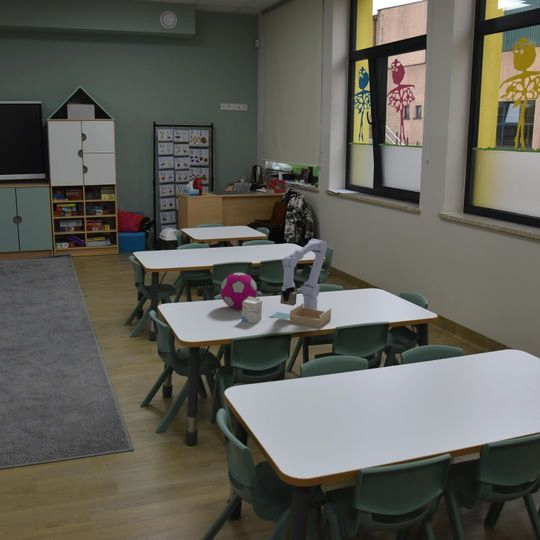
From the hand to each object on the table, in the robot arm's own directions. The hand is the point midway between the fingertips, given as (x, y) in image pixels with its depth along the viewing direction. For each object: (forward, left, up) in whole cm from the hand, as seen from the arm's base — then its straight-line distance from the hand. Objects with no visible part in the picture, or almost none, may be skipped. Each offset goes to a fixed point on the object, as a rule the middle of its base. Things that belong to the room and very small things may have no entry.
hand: (287, 300), depth 394 cm
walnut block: (0, 0, -2) cm, 2 cm away
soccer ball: (-2, -33, -11) cm, 35 cm away
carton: (0, +15, -10) cm, 18 cm away
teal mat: (0, -3, -10) cm, 11 cm away
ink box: (+16, -15, -11) cm, 24 cm away
